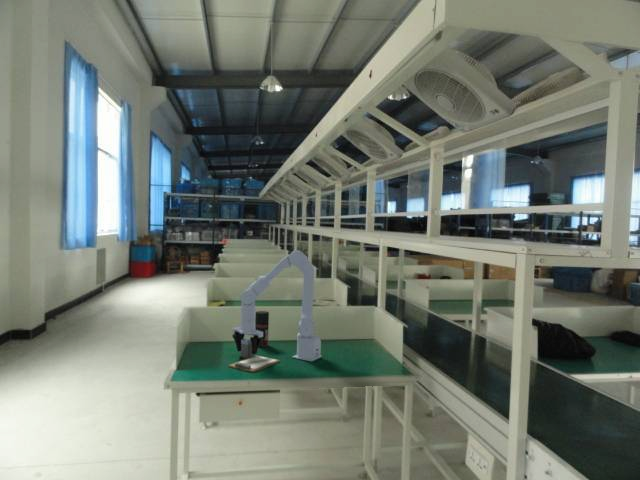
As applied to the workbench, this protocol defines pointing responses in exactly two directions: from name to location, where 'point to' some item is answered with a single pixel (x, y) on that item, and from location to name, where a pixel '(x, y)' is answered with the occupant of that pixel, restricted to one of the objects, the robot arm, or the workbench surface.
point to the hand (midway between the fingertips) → (247, 352)
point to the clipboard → (254, 363)
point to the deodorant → (262, 326)
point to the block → (246, 348)
